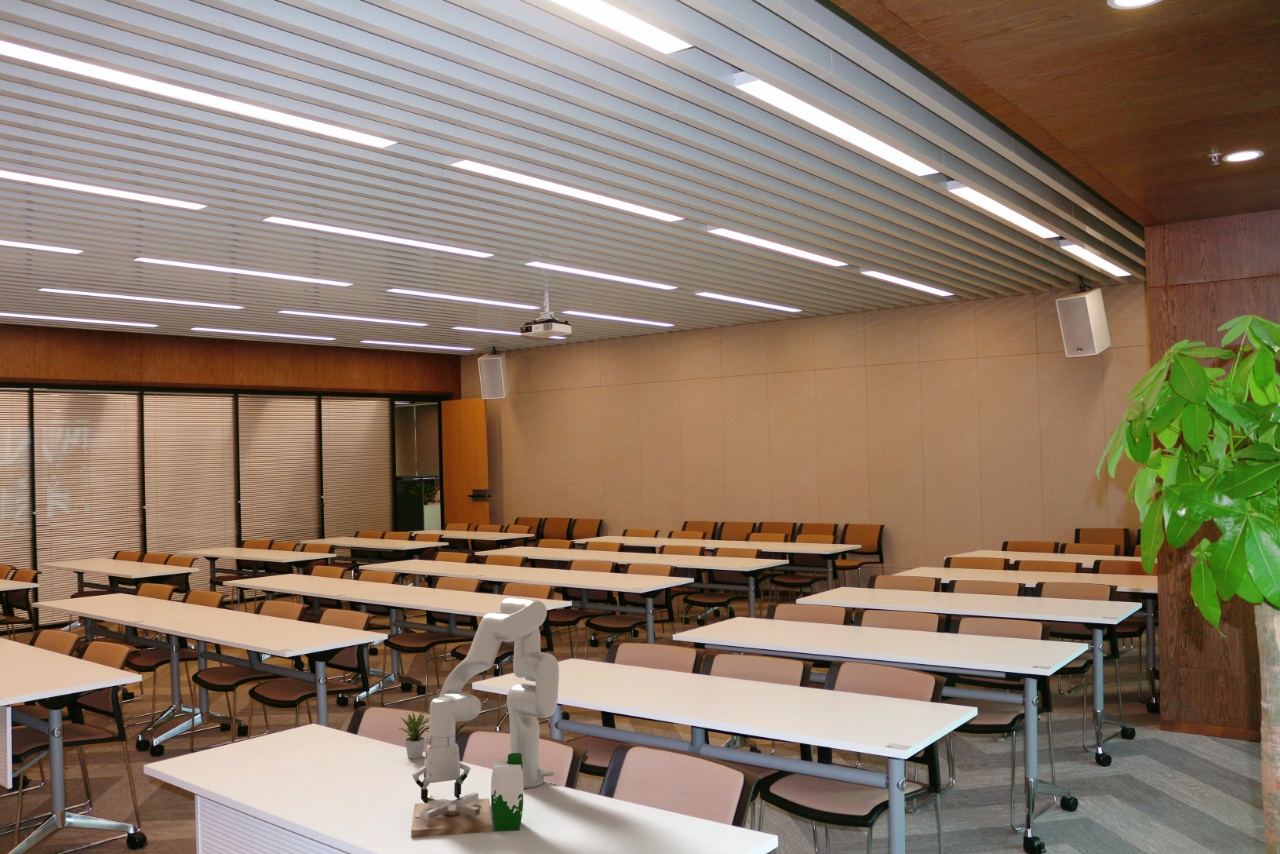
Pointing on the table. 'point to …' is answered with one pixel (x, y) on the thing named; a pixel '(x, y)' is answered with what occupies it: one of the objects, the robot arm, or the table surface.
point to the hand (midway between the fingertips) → (441, 799)
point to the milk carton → (507, 793)
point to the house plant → (415, 735)
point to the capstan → (452, 806)
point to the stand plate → (451, 821)
